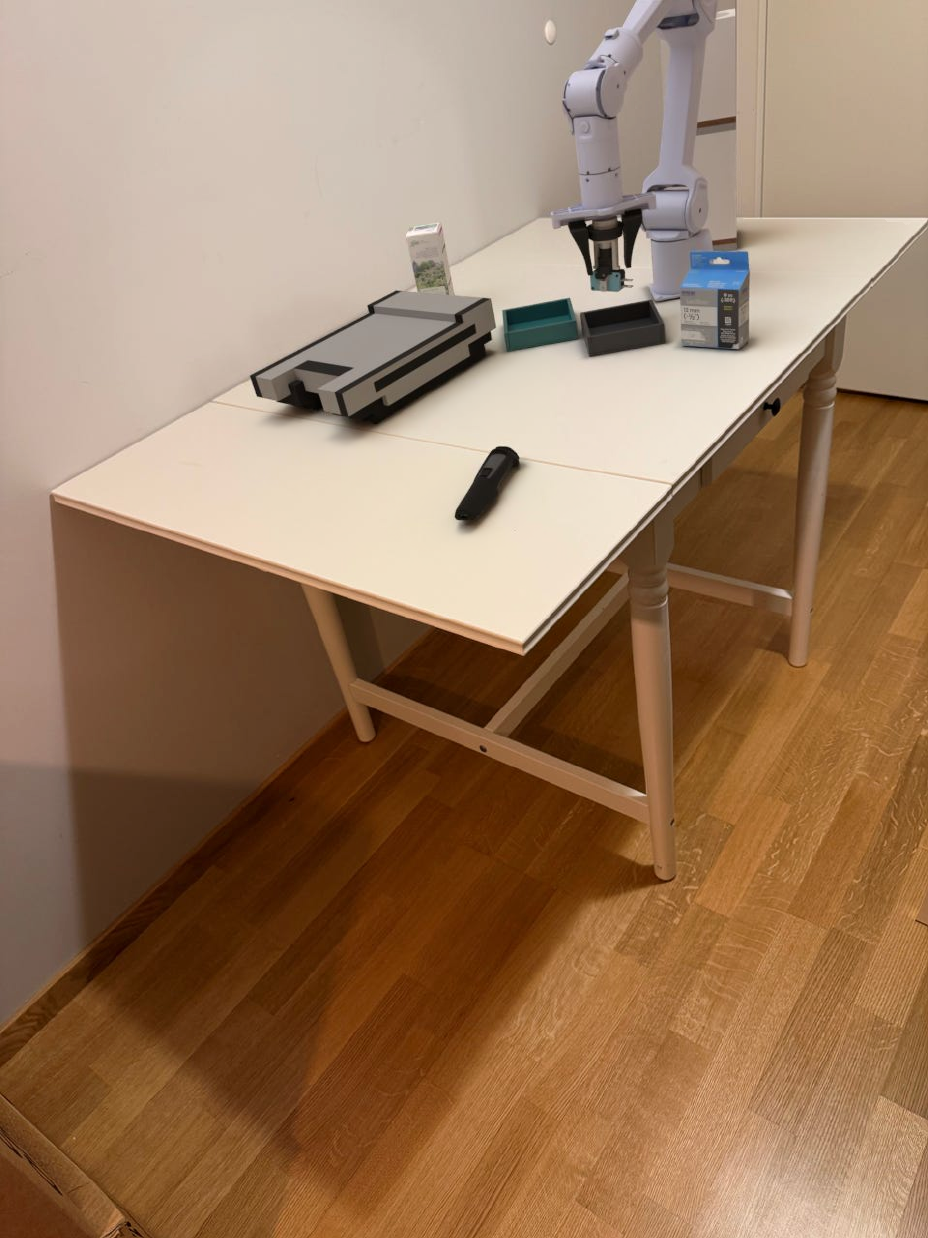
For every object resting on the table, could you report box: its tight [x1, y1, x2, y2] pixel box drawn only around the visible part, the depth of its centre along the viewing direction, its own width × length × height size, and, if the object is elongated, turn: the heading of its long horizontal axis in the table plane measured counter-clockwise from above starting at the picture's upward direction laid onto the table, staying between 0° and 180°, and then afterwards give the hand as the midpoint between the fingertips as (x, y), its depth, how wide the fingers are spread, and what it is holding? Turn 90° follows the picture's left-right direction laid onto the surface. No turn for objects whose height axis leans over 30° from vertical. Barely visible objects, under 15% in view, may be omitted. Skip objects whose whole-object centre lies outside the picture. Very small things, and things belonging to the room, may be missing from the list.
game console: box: [249, 290, 497, 425], centre depth 138 cm, size 21×32×8 cm, turn 139°
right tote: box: [579, 299, 666, 357], centre depth 136 cm, size 11×11×3 cm
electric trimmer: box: [454, 445, 521, 522], centre depth 105 cm, size 4×16×3 cm, turn 159°
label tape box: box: [679, 250, 751, 350], centre depth 125 cm, size 9×4×12 cm, turn 53°
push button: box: [587, 215, 634, 293], centre depth 131 cm, size 7×5×10 cm
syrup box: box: [405, 222, 456, 295], centre depth 159 cm, size 6×6×14 cm
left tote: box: [501, 297, 579, 352], centre depth 144 cm, size 11×11×3 cm
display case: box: [659, 8, 738, 251], centre depth 155 cm, size 11×11×35 cm
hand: (608, 269), depth 132 cm, fingers closed on push button, 5 cm apart
